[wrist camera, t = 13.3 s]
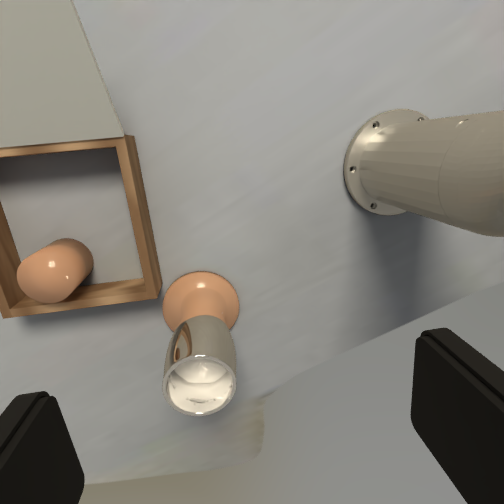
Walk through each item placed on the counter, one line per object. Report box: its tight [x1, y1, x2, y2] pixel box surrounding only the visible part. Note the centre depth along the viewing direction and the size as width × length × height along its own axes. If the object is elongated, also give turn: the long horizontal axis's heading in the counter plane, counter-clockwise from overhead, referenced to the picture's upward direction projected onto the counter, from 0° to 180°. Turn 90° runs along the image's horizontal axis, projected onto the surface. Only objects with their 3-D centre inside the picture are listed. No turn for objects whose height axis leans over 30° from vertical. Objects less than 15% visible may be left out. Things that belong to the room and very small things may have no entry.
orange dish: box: [163, 271, 239, 332], centre depth 43 cm, size 10×10×1 cm
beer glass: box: [162, 287, 237, 416], centre depth 36 cm, size 7×7×15 cm
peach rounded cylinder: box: [17, 238, 93, 303], centre depth 37 cm, size 6×6×6 cm
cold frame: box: [0, 135, 162, 319], centre depth 36 cm, size 17×18×4 cm
